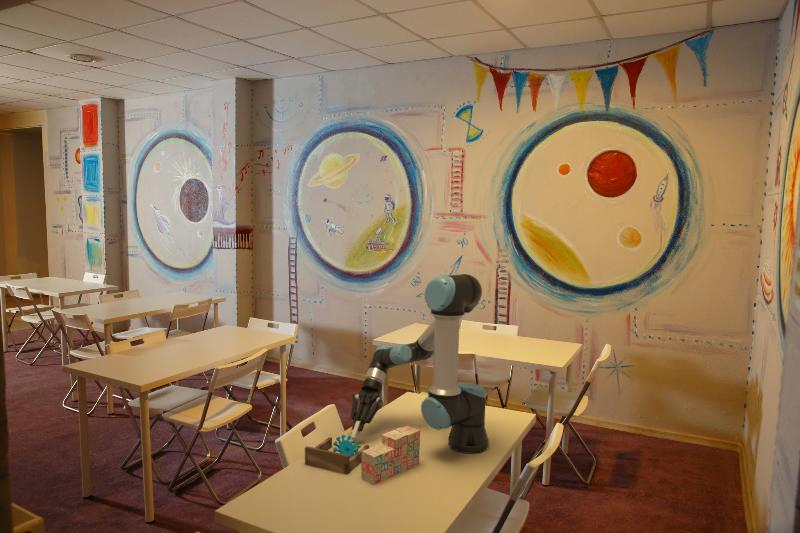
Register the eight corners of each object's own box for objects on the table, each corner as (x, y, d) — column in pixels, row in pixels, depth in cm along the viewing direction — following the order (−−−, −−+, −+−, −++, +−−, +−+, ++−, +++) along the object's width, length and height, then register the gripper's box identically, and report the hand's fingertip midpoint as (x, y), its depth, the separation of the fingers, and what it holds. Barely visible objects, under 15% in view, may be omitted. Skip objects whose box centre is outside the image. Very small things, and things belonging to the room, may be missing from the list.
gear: (338, 462, 181) (331, 434, 186) (331, 469, 184) (325, 442, 190) (366, 459, 187) (359, 432, 193) (358, 466, 190) (352, 439, 196)
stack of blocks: (373, 485, 169) (374, 447, 168) (360, 478, 174) (361, 441, 173) (419, 464, 184) (420, 429, 183) (406, 458, 189) (407, 424, 188)
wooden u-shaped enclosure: (329, 446, 197) (329, 430, 197) (369, 454, 191) (369, 438, 190) (304, 464, 182) (304, 447, 182) (347, 474, 176) (347, 456, 175)
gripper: (391, 389, 211) (372, 446, 197) (361, 384, 216) (341, 440, 202) (386, 379, 205) (366, 437, 192) (355, 375, 210) (334, 431, 197)
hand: (353, 439), depth 197 cm, fingers closed
